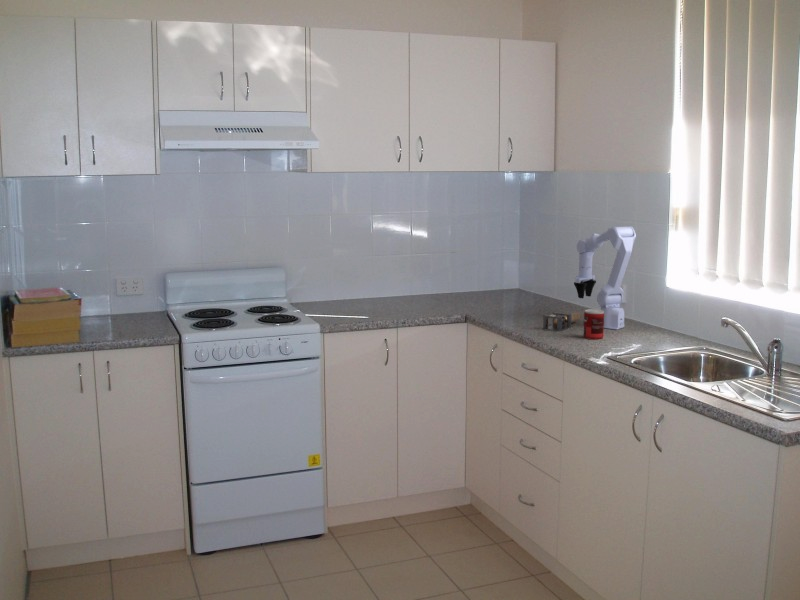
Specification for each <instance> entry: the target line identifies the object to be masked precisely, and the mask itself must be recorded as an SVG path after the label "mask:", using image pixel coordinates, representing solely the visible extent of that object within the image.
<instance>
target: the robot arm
mask: <svg viewBox="0 0 800 600" xmlns="http://www.w3.org/2000/svg"><path fill="white" fill-rule="evenodd" d="M636 238H637V234H636V231H635V229H634V227H633V226H632V225H631V226H630V225H628V226H611V227H609V228H607V230H606V231H604V232H602V233H601V234H600V233H592V235H591V236H590V237H586V238H585V239H580V240H578V241H577V243H576V250H577V252H578V253H579V254H578V275H577V276H576V277H575V281H574V282H573V286H575V287H574V288H575V289H576V292H577V297H578V299H584V298H585V297H591V296H592V292H593V288H594V287H595V285H596V283H597V280H595V279H596V275H595V274H593V257H594V254H595V252H596V250H597V249H599V248H601V247H602V246H603V245H604V243H605V242H607V241H609V242H610V244H611V245H612V247H613V248H614V250H617V253H616V255H615V259H614V262H613V264H612V269H611V270H610V274H609V278H608V281H607V282H606V284H605V285H604V286H602V287H601V288H600V291H599V292H598V293H597V296H596V302H597V304H598V305H599V307H600V310H603V311H604V329H610V330H619V329H622V328H625V327H626V325H625V309H624V308H623V307H621V304H622V303H623V301H624V293H625V291H624V289H623V288H622V286H621V285H622V283H623V280H624V277H625V273H626V270H627V267H628V265H629V261H630V259H631V255H632V252H633V247H634V244H635V242H636V241H635V240H636Z"/></svg>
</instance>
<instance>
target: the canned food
mask: <svg viewBox="0 0 800 600" xmlns="http://www.w3.org/2000/svg"><path fill="white" fill-rule="evenodd" d="M583 313H584V314H583V336H584V337H583V338H585V339H586V340H587V339H588V340H595V341H596V340H602V339H603V338H604V334H605V333H604V331H605V328H604V311H603V310H601V309H596V308H595V309H594V308H589V309H585V310H584V312H583Z"/></svg>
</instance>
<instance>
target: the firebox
mask: <svg viewBox="0 0 800 600" xmlns="http://www.w3.org/2000/svg"><path fill="white" fill-rule="evenodd" d="M572 314H573V313H565V312H557V311H554V312H552V314H543V317H542V318H543V319H542V320H543V321H542V322H543V324H542V326H543V327H542V328H541V330H543V329H546V330H545V331H550V330H553V331H552V332H557V331H559V332H562V331H565V330H568V328H569V329H571V327H572V328H573V325H572V322H571V319H572ZM562 316H567V324H565V325H563V326H562ZM556 318H557V326H555V325H554V319H556ZM549 319H552V324H551V325H549ZM561 330H562V331H561Z"/></svg>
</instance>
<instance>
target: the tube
mask: <svg viewBox="0 0 800 600" xmlns="http://www.w3.org/2000/svg"><path fill="white" fill-rule="evenodd" d="M571 314H572V319H571V323H574V322H579V321H580V320H581V319H582V314H581V313H580V312H579V311H577V312H574V313H573V312H572V313H571ZM561 317H562V326H563V325H567V316H564V315H561ZM554 325H555V326H557V318H556V319H554Z"/></svg>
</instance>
